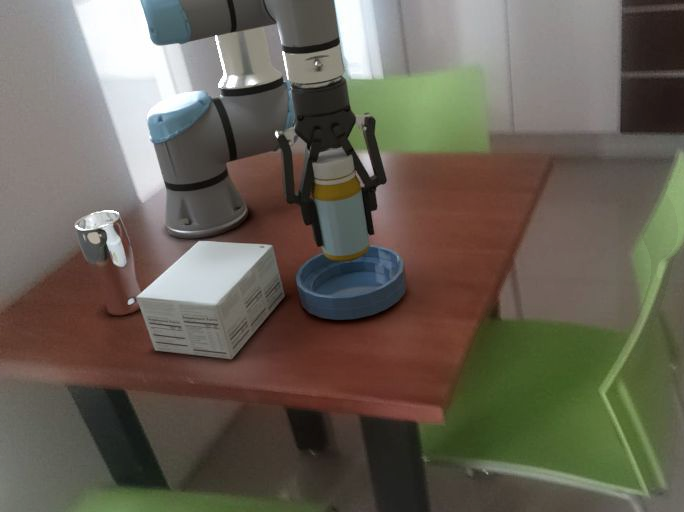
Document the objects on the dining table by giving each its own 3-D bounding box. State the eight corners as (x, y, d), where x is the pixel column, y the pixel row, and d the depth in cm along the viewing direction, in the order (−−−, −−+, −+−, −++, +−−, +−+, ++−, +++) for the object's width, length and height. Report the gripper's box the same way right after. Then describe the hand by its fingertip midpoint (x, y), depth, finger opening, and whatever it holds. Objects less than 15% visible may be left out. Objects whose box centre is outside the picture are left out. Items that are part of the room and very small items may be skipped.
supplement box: (212, 291, 126) (198, 239, 121) (286, 297, 122) (274, 243, 117) (152, 351, 113) (133, 295, 108) (232, 360, 109) (216, 302, 104)
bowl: (284, 293, 123) (279, 268, 121) (374, 259, 130) (371, 235, 127) (330, 337, 111) (324, 310, 109) (426, 297, 117) (423, 271, 115)
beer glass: (124, 321, 121) (92, 233, 113) (95, 311, 124) (62, 226, 116) (158, 299, 126) (130, 213, 118) (129, 290, 129) (100, 207, 121)
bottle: (363, 263, 113) (347, 164, 105) (317, 263, 114) (298, 165, 106) (375, 241, 118) (361, 145, 110) (331, 241, 120) (314, 147, 112)
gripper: (244, 101, 98) (280, 263, 110) (397, 72, 102) (416, 232, 114) (238, 86, 104) (273, 241, 116) (383, 60, 108) (402, 213, 120)
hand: (344, 236), depth 115 cm, fingers closed on bottle, 7 cm apart
